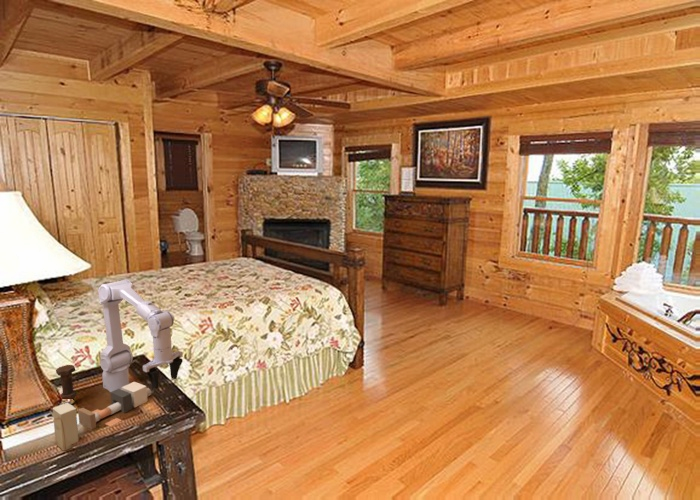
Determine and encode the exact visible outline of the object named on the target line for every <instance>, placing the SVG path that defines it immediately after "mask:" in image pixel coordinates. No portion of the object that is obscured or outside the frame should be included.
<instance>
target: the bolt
mask: <svg viewBox="0 0 700 500" xmlns="http://www.w3.org/2000/svg"><path fill="white" fill-rule="evenodd" d="M74 372H76V367H75V365H73V364H65V365H62V366H59V367H57V368H56V369H55V374H57V376H60V381H61V389H62V392H61V394H60V395H61V397H62V399H73V400H74V401H75V398H76V397H77V395H78V394H77V392H76V390H74V385H73V384H74V383H73V373H74Z"/></svg>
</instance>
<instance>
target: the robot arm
mask: <svg viewBox="0 0 700 500" xmlns="http://www.w3.org/2000/svg"><path fill="white" fill-rule="evenodd" d="M97 293H98V301H99V304H100V305H102V311H103V319H104V320H103V321H104V327H105V328H104V329H105V335H106V343H107V346H106V347H104V349H103V350H102V351H101V352H100V361H99V365H100V367H101V369H102V370H103V372H102V374H101V375H102V376H101V377H102V386H103V387H102V388H103V389H104V390H105V389H106V390H108V392H109V393H110V392H112V391H114V390H117V389H121V387H123V386H126V385H128V384H130V374H129V373H130V371H129V367H131V364H132V363H133V359H134V357H133V353H132V351H131V348H130V345H129V344H126V343H124V339H123V331H122V325H121V316H120V314H121V313H120V308H119V304H120V303H121V302H122V301H123V300H125V301H126V302H127V303H128V304H130V305H131V306H133V307H134V308H136V313H137V315H138V316H140V317H141V318H142V319H143V320H145V322H147V327H148V329H149V331H150V336H151V337H152V344H153V345H152V346H153V359H152V360H150V361H149V362H147V363H146V364H143V365H142V371H143V372H144V373H145V375H146V376H147V377H148V379H149V381H150V384H151V386H152V388H154V389H159V375H160V370H157V368H158V367H160V366H162V365H166V364H169V369H170V370H169V371H170V377H171V379H173V380H177V379H178V375H179V374H178V373H179V371H180V367H181V365H182V363H183V362H184V361H183V351H182V350H181V351H180V350H177V351H174V352H173V351H172V349H173V348H172V347H173V346H172V333H171V327H173V325H174V324H175V323H174V321H175V318H174V315H173V314H172V313H171V312H170V311H169V310H164V309H163V310H162V309H160V308H159V307H158V306H157V305H155V304H154V303H153V302H152V301H151V300H144V299H143V298H142V296H141V295H140V294H139V293H137V292H136V290H135V286H134V284H133V283H132V282H131V281H130V280H129V279H127V278H126V279H122V280H118V281H113V282H108V283H103V284H101V285H100V286H99V288H98V289H97ZM121 390H122V389H121Z"/></svg>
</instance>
